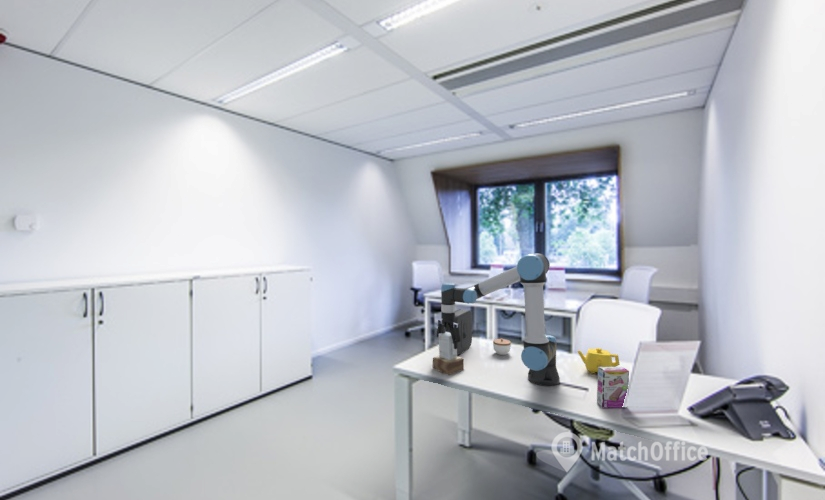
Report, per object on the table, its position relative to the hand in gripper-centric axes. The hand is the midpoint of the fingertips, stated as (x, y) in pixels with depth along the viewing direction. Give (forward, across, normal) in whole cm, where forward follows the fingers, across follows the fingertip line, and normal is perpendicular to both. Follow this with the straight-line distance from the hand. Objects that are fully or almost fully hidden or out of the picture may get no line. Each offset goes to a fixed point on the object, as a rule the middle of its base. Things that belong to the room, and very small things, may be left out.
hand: (448, 352), depth 193 cm
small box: (+3, 0, 0) cm, 3 cm away
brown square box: (+9, 0, 0) cm, 9 cm away
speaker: (+10, +17, -29) cm, 35 cm away
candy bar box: (+10, -76, -23) cm, 79 cm away
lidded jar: (+10, -4, -44) cm, 45 cm away
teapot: (+10, -56, -57) cm, 80 cm away
